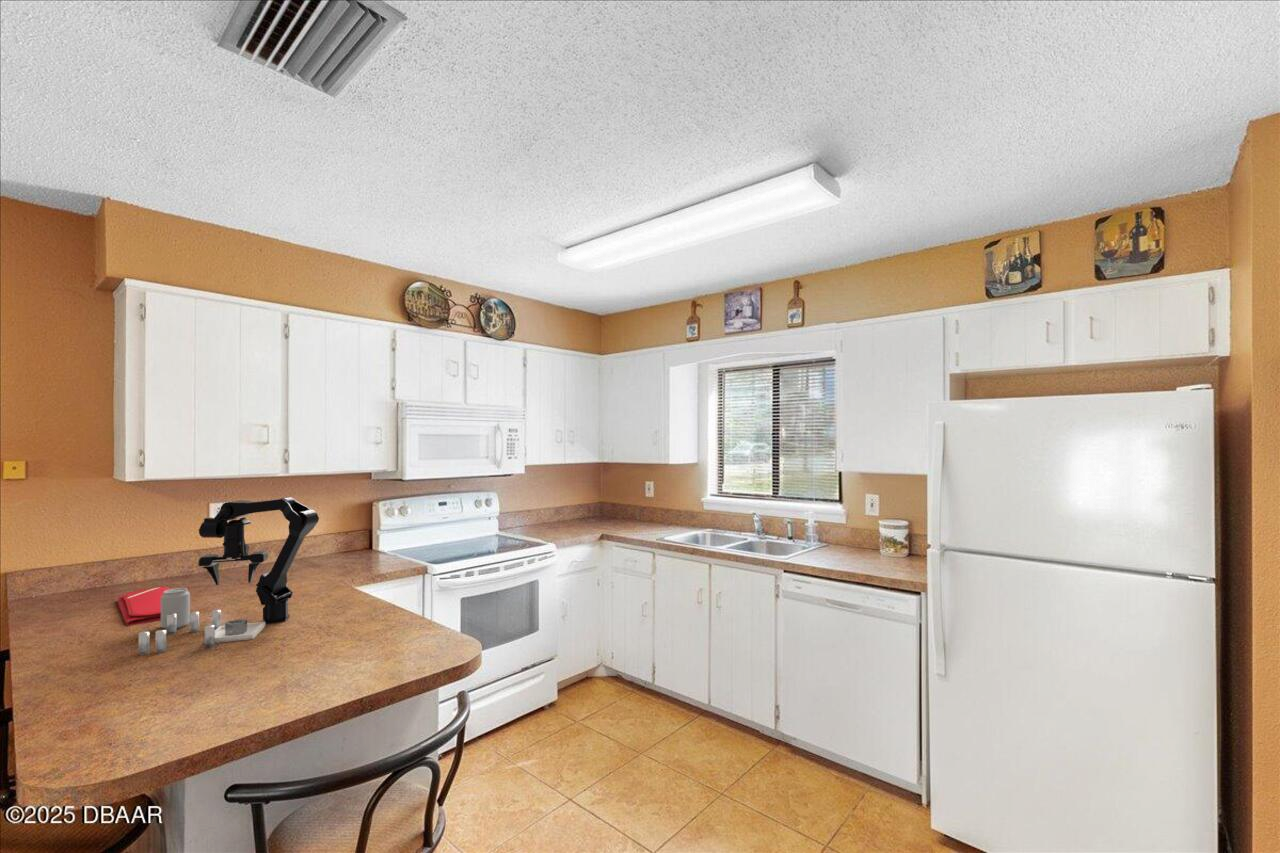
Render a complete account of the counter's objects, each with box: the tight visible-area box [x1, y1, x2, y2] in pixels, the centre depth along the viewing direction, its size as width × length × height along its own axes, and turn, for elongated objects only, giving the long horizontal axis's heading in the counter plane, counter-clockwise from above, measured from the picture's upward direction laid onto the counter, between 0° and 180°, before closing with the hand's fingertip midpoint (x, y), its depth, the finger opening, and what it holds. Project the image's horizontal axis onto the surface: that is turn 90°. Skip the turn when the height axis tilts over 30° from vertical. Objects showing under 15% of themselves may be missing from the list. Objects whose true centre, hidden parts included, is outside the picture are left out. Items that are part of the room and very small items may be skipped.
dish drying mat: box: [117, 586, 170, 627], centre depth 211 cm, size 16×41×4 cm, turn 45°
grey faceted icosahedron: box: [224, 618, 248, 636], centre depth 181 cm, size 5×6×4 cm
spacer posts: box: [138, 609, 222, 656], centre depth 177 cm, size 18×20×6 cm
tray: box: [203, 621, 266, 645], centre depth 181 cm, size 13×13×2 cm
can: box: [160, 587, 191, 630], centre depth 190 cm, size 8×8×12 cm
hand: (233, 583), depth 197 cm, fingers open, 9 cm apart
